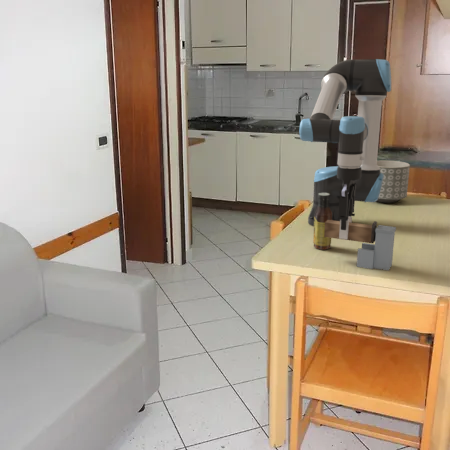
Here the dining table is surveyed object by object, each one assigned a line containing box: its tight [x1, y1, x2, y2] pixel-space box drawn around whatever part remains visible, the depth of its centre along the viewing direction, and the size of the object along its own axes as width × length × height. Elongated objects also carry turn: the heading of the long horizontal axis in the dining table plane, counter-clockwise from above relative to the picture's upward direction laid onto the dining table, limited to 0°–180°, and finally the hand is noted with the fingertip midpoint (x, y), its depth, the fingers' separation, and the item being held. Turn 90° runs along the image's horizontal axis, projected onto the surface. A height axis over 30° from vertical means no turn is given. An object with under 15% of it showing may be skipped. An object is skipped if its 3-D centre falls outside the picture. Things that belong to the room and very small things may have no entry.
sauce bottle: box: [312, 193, 332, 251], centre depth 187 cm, size 6×6×20 cm
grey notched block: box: [356, 224, 397, 271], centre depth 170 cm, size 10×7×13 cm
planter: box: [376, 159, 411, 204], centre depth 253 cm, size 19×19×18 cm
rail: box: [324, 220, 378, 244], centre depth 173 cm, size 16×4×6 cm, turn 64°
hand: (344, 236), depth 174 cm, fingers closed on rail, 3 cm apart
